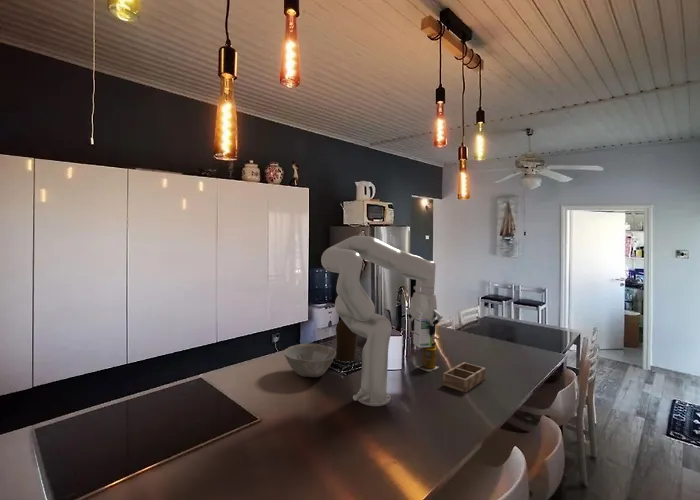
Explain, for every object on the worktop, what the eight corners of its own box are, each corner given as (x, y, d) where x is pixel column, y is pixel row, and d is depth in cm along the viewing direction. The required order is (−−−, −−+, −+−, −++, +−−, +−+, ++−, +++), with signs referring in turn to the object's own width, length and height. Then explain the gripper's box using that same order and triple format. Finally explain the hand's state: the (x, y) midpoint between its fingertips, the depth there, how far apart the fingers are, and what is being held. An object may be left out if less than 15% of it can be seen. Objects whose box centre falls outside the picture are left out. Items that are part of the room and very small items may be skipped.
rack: (465, 392, 149) (466, 380, 148) (442, 385, 155) (443, 373, 155) (485, 379, 163) (485, 368, 163) (463, 373, 170) (463, 362, 169)
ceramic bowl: (311, 390, 147) (312, 364, 146) (271, 374, 161) (272, 351, 160) (346, 373, 164) (347, 351, 164) (308, 361, 178) (308, 340, 178)
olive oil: (360, 358, 184) (361, 307, 183) (352, 365, 174) (354, 312, 173) (339, 355, 188) (341, 305, 186) (331, 362, 178) (332, 309, 176)
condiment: (439, 367, 176) (440, 342, 175) (428, 371, 170) (429, 345, 169) (426, 363, 181) (427, 338, 180) (415, 367, 175) (416, 341, 174)
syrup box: (418, 347, 153) (420, 312, 153) (412, 343, 159) (414, 309, 158) (431, 347, 155) (433, 312, 154) (425, 343, 161) (427, 309, 160)
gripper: (402, 288, 159) (400, 329, 160) (439, 294, 147) (437, 338, 148) (411, 287, 165) (409, 327, 165) (448, 292, 153) (446, 335, 154)
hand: (422, 332), depth 157 cm, fingers closed on syrup box, 7 cm apart
